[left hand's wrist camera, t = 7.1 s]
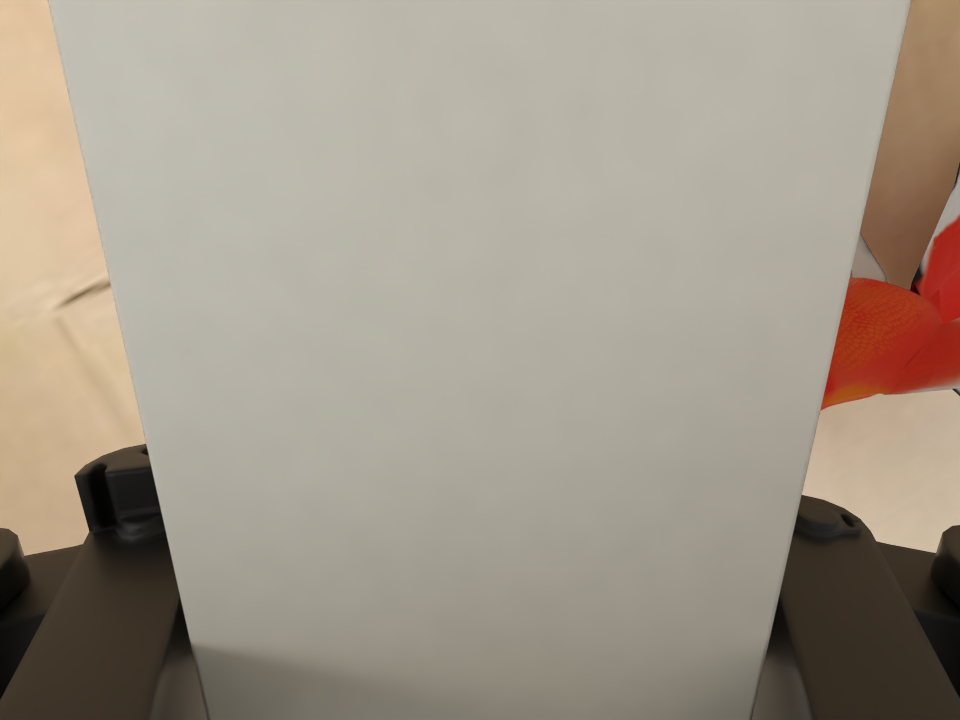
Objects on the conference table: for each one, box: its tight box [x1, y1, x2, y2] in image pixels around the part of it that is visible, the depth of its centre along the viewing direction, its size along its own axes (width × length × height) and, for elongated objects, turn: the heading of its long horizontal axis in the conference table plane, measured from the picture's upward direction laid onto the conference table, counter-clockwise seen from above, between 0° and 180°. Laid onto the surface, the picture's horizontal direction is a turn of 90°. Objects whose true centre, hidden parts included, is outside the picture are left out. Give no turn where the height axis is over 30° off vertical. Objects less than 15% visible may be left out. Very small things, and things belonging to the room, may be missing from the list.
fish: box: [820, 164, 960, 411], centre depth 22 cm, size 11×16×10 cm
